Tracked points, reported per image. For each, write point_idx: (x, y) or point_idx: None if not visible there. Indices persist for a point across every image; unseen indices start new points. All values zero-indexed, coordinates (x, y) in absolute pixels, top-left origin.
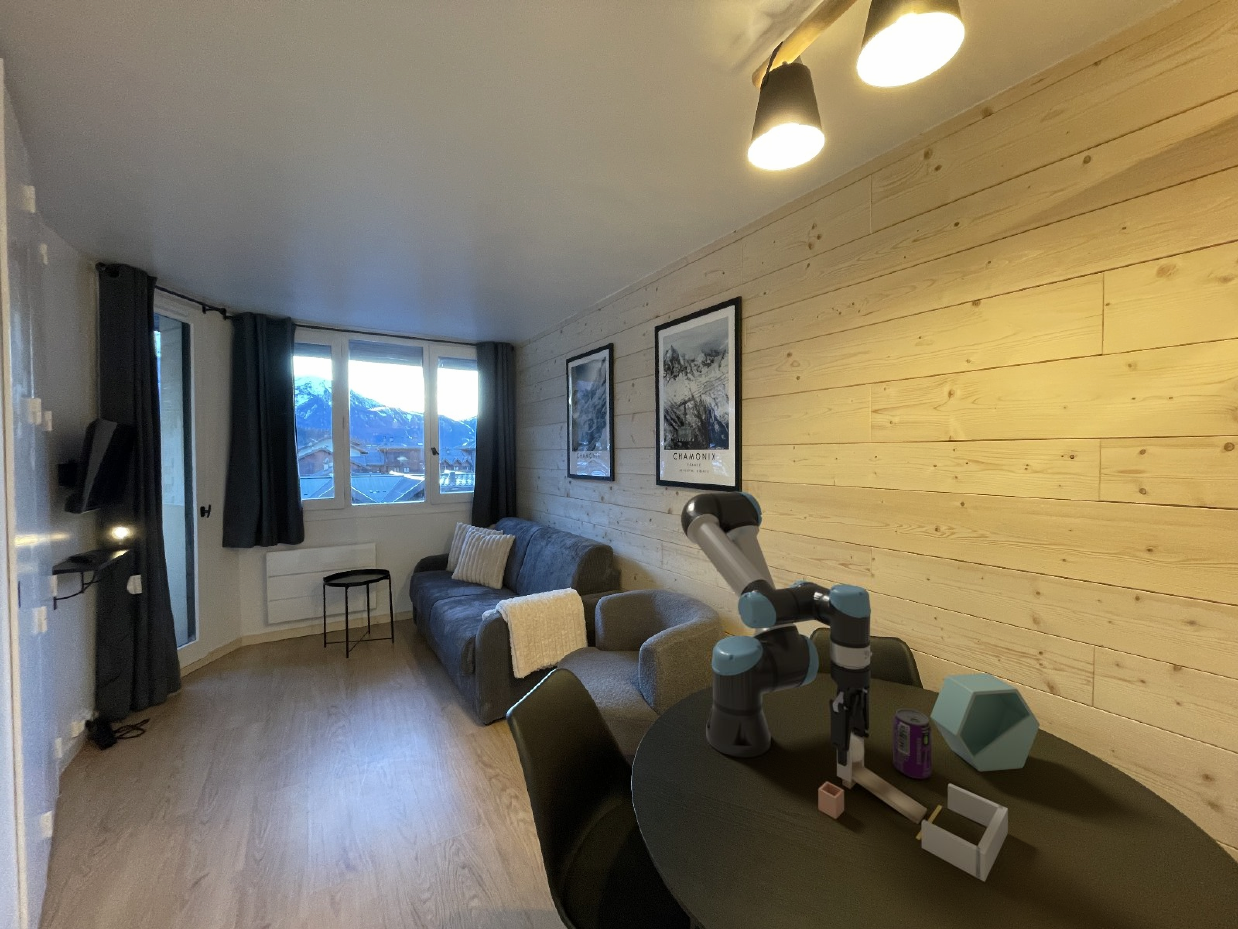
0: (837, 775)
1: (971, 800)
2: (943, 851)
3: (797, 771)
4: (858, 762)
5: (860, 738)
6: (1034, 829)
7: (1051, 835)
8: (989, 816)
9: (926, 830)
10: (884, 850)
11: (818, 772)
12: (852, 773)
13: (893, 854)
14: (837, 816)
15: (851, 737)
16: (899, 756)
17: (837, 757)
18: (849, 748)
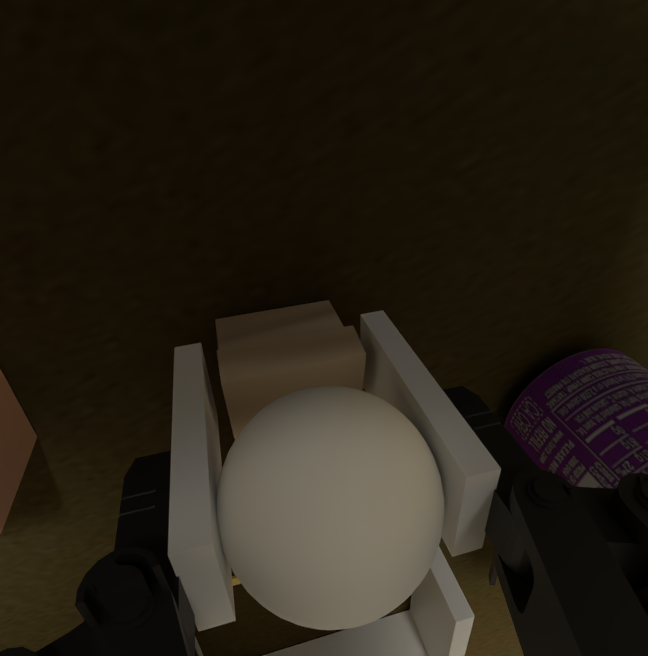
0: (175, 352)
1: (440, 641)
2: None
3: (23, 24)
4: (373, 387)
5: (462, 545)
6: (479, 614)
7: (480, 627)
8: (425, 635)
9: None
10: (16, 599)
11: (188, 155)
12: (234, 435)
13: (34, 612)
14: None
15: (354, 620)
16: (562, 454)
17: (121, 507)
18: (230, 612)
